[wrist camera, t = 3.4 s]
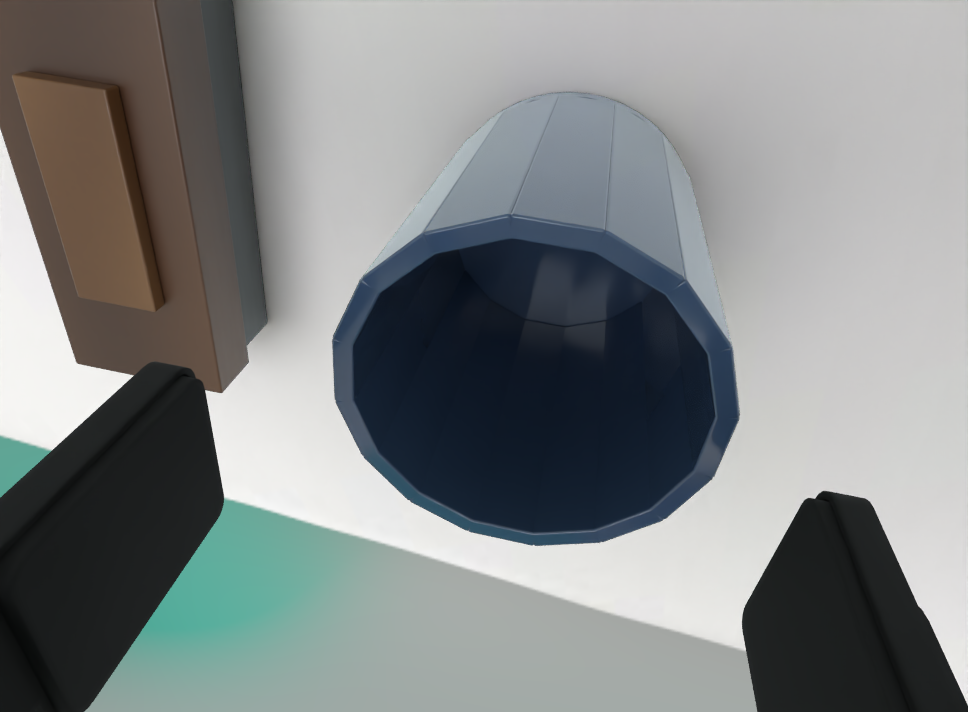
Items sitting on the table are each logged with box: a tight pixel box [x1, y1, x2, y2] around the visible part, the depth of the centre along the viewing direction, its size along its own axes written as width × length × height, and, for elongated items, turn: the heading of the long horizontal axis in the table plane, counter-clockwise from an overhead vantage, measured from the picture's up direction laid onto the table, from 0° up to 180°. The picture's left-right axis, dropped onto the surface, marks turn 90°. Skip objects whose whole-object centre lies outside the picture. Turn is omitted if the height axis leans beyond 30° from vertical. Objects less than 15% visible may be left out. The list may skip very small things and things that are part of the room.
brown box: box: [0, 0, 267, 393], centre depth 18 cm, size 5×12×4 cm, turn 174°
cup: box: [332, 92, 740, 546], centre depth 15 cm, size 7×7×9 cm
